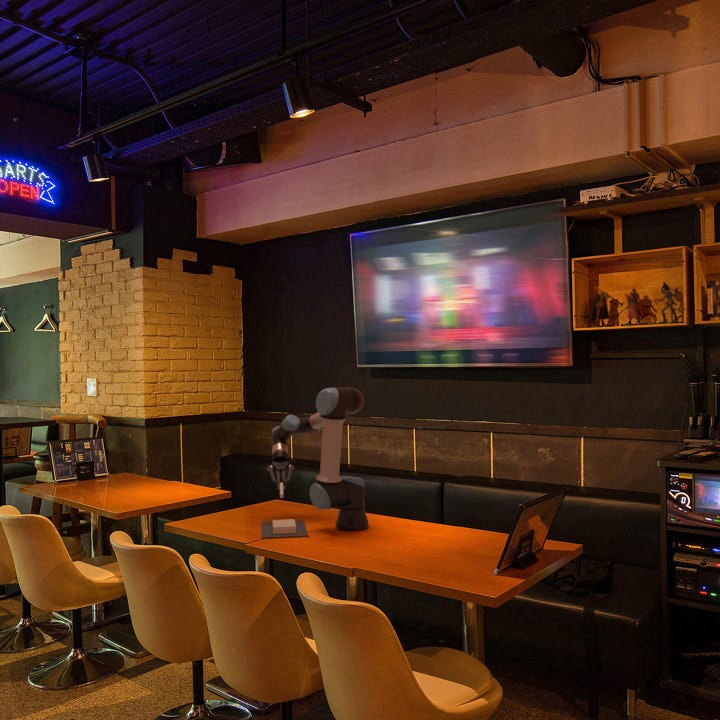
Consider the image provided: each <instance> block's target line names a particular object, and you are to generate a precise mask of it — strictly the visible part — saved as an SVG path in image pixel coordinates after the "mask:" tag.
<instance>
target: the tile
mask: <svg viewBox="0 0 720 720" xmlns="http://www.w3.org/2000/svg"><path fill="white" fill-rule="evenodd" d="M272 524H273V534H274V535H278V534H295V533H296V523H295V518H290V519H287V518H286V519H272Z"/></svg>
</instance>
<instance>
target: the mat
mask: <svg viewBox="0 0 720 720" xmlns="http://www.w3.org/2000/svg"><path fill="white" fill-rule="evenodd" d="M295 523H296V533H295V534H278V535H274V534H273V524H272V521H261V525H260V527H261V529H260V530H261V531H260V533H261V534H260V535H261V536H260V537H261V538H260V540H275V539H276V540H277V539H297V538H299V539H300V538H309V532H308V530H307V525H306V521H305V520H304V519H300V520H297V519H296V520H295Z"/></svg>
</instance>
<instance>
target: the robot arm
mask: <svg viewBox="0 0 720 720" xmlns="http://www.w3.org/2000/svg"><path fill="white" fill-rule="evenodd" d="M364 402H365V401H364V396H363V394H362V392H361V391H360V390H359V389H357V388H355V387H351V386H350V387H328V388H327V387H326V388H324V389H321V391H319V392H318V394H317V396H316V400H315V407H316V413H314V414H312V415H310V416H309V417H303V418H301V417H300V418H299V417H298V416H297V415H293V414H288V415H286V417H285V418H284V419H283V420H282V422H281V423H280V425H277V426H275V427H273V429H272V430H271V448H272V449H271V453H272V454H271V455H272V456H271V457H272V462H271V465H267V466H266V471H268V473H269V475H270V478H271V482H272V484H273V485H274V486H275V485H276V489H277V492H279V498H280V499H284V492H285V491H286V488H287V486H286V485H289V484H290V481H291V477H292V474H293V473H292V472H293V471H294V470H295V465H294V464H290V462H289V447H288V441H289V440H290V439H291V437H292V436H293V435H300V434H302V435H303V434H317V433H319V432H321V431H322V438H321V455H320V466H319V474H318V475H317V476H316V477H315V483H313V484H311V486H310V487H309V499H310V501H311V503H312V505H313V506H314V507H315V508H316V509H317V510H329V509H334V508H339V509H338V513H337V518H336V521H335V529H337V530H340V531H346V532H347V531H348V532H355V531H356V532H357V531H364V530H367V529H369V525H370V524H369V520H368V519H369V518H368V517H367V514H366V510H365V508H366V507H365V488H366V487H365V480H364V479H363V478H361V477H358V476H349V475H347V476H345V475H340V470H341V469H340V468H341V467H340V466H341V454H342V453H341V452H342V439H343V437H342V436H343V426H344V422H345V421H346V420H347V419H348V416H352V415H354V414H356V413H358V412H360V411H361V409H362V408H363V406H364ZM273 470H274V471H275V472H276V477H275V474H274V472H273ZM287 470H288V473H287V477H286V471H287ZM280 474H281V476H282V482H281V480H280V479H281V478H280Z"/></svg>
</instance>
